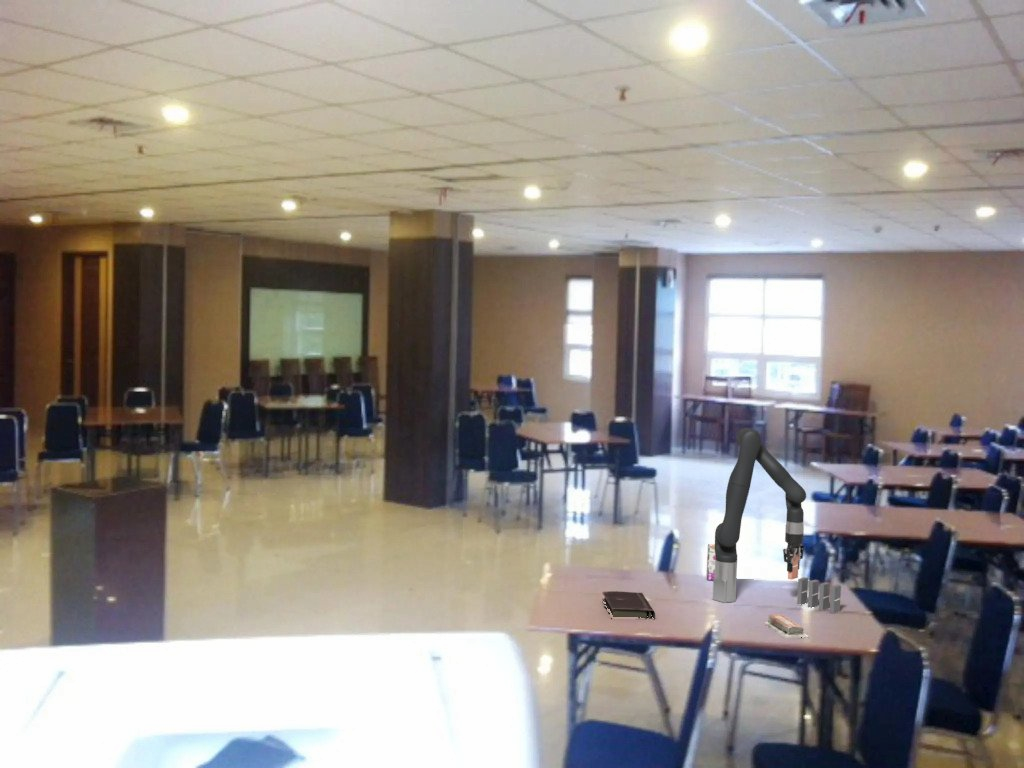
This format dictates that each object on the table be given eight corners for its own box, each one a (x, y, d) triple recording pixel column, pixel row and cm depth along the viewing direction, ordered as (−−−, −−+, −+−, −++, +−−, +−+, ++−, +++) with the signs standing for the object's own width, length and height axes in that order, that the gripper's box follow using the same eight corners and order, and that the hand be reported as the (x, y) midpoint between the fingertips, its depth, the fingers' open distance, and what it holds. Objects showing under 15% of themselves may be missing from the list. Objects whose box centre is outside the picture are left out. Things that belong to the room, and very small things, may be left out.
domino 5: (839, 611, 397) (841, 585, 396) (833, 613, 393) (834, 587, 393) (835, 610, 398) (836, 584, 398) (829, 612, 395) (830, 586, 394)
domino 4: (828, 608, 401) (830, 583, 400) (822, 611, 397) (823, 585, 396) (824, 607, 402) (825, 582, 401) (818, 609, 398) (819, 584, 398)
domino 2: (807, 603, 408) (808, 578, 407) (801, 605, 404) (802, 580, 404) (803, 602, 409) (804, 577, 408) (797, 604, 406) (798, 579, 405)
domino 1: (798, 577, 411) (798, 552, 410) (791, 579, 407) (792, 554, 407) (794, 576, 412) (794, 551, 411) (787, 578, 409) (788, 553, 408)
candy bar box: (707, 580, 440) (708, 546, 439) (706, 578, 445) (707, 543, 444) (731, 582, 439) (733, 547, 438) (730, 579, 444) (731, 544, 443)
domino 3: (817, 605, 404) (819, 580, 404) (811, 608, 401) (812, 582, 400) (813, 604, 406) (814, 579, 405) (807, 607, 402) (808, 581, 401)
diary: (643, 603, 405) (643, 591, 404) (655, 621, 380) (655, 609, 380) (599, 602, 404) (600, 590, 403) (608, 620, 379) (609, 608, 378)
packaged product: (763, 613, 377) (786, 612, 379) (763, 625, 377) (786, 624, 379) (785, 627, 360) (809, 626, 362) (785, 640, 360) (809, 639, 362)
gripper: (795, 527, 416) (793, 566, 417) (777, 532, 406) (776, 571, 407) (810, 530, 411) (809, 569, 412) (793, 535, 401) (792, 575, 402)
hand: (793, 570), depth 409 cm, fingers closed on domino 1, 5 cm apart
